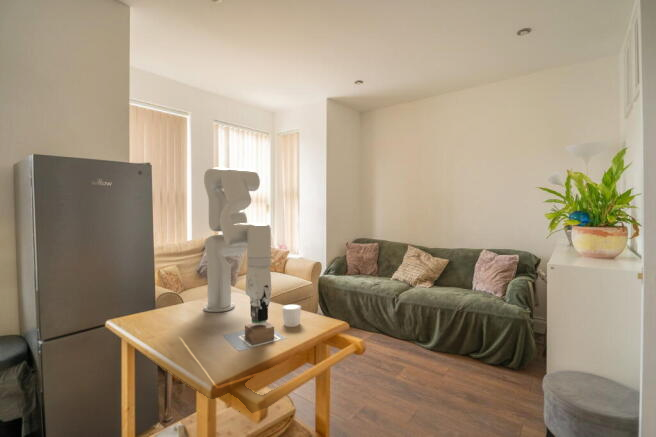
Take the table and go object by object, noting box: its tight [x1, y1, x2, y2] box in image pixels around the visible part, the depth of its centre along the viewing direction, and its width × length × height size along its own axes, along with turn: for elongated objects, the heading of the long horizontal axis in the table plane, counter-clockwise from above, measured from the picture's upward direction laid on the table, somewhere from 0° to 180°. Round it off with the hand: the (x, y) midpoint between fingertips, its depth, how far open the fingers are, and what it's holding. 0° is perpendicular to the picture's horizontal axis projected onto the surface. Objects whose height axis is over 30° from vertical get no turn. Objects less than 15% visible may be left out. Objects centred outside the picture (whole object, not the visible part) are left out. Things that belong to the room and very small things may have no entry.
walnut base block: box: [244, 321, 275, 344], centre depth 103 cm, size 7×7×4 cm
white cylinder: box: [281, 303, 302, 328], centre depth 116 cm, size 7×7×7 cm
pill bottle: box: [250, 296, 267, 324], centre depth 103 cm, size 5×5×8 cm
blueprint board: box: [221, 329, 287, 352], centre depth 104 cm, size 15×16×1 cm
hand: (259, 317), depth 103 cm, fingers closed on pill bottle, 4 cm apart
